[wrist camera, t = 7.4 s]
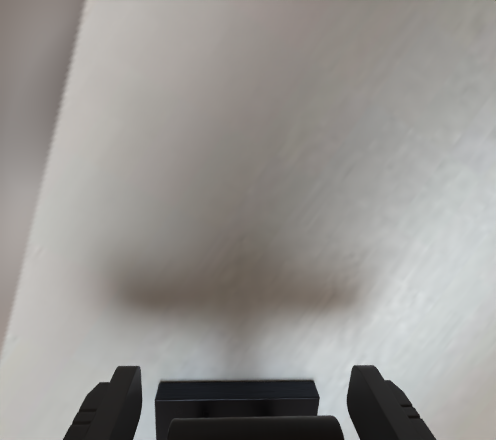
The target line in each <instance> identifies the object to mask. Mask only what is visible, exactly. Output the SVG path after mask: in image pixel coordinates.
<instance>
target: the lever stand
mask: <svg viewBox="0 0 496 440" xmlns="http://www.w3.org/2000/svg"><path fill="white" fill-rule="evenodd" d="M319 399H320V397H319V394H318V391H317V389H316V386H315V383H314V381H286V382H190V383H160V384H159V387H158V390H157V394H156V397H155V419H156V440H167V436H168V430H169V426H170V423H171V421H172V420H173V419H177V418H228V417H278V416H317V413H318V406H319Z"/></svg>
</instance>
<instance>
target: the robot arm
mask: <svg viewBox="0 0 496 440" xmlns="http://www.w3.org/2000/svg"><path fill="white" fill-rule="evenodd" d="M347 407H348V412H349V415H350V418H351V420H352V422H353V424H354V427H355V429H356V431H357V433H358V436H359V438H360V440H436V438H435V437H434V436H433V434H432V433H431V431H430V430H429V428H428V427H427V425H426V424H425V423H424V421H423V420H422V419H421V418H420V415H419V414H418V412H417V411H416V409H415V408H414V407H412V404H411V402H410V401H409V399H408V398H407V396H406V395H405V394H404V392H403V391H402V390H401V389H400V388H398V387H397V386H396V385H395V384H394V383H393V382H391V381H390V380H384V379H383V377H382V376H381V374H380V372H379V371H378V369H377V368H376V367H375V366H373V365H355V366H353V368H352V371H351V377H350V382H349V388H348V394H347ZM141 408H142V385H141V369H140V366H118V367H117V368H116V370H115V372H114V374H113V377H112V379H111V381H110V382H100V383H99V384H98V385H97V386H96V387H95V388H94V389H93V390H92V391H91V392H90V393H89V394H87V396H86V398H85V400H84V401H83V403H82V405H81V407H80V409H79V412H78V413H77V414H76V416H75V418H74V420H73V422H72V425H71V426H70V427H69V429H68V431H67V433H66V435H65V437H64V439H63V440H133V438H134V435H135V432H136V429H137V425H138V422H139V419H140V414H141Z"/></svg>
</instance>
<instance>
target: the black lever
mask: <svg viewBox="0 0 496 440" xmlns="http://www.w3.org/2000/svg"><path fill="white" fill-rule="evenodd" d="M167 440H344V436H343V432H342V429H341V427H340V424H339V422H338V420H337V419H336V418H335V417H334V416H331V415H329V416H278V417H228V418H177V419H173V420H172V421H171V423H170V426H169V430H168V436H167Z"/></svg>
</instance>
